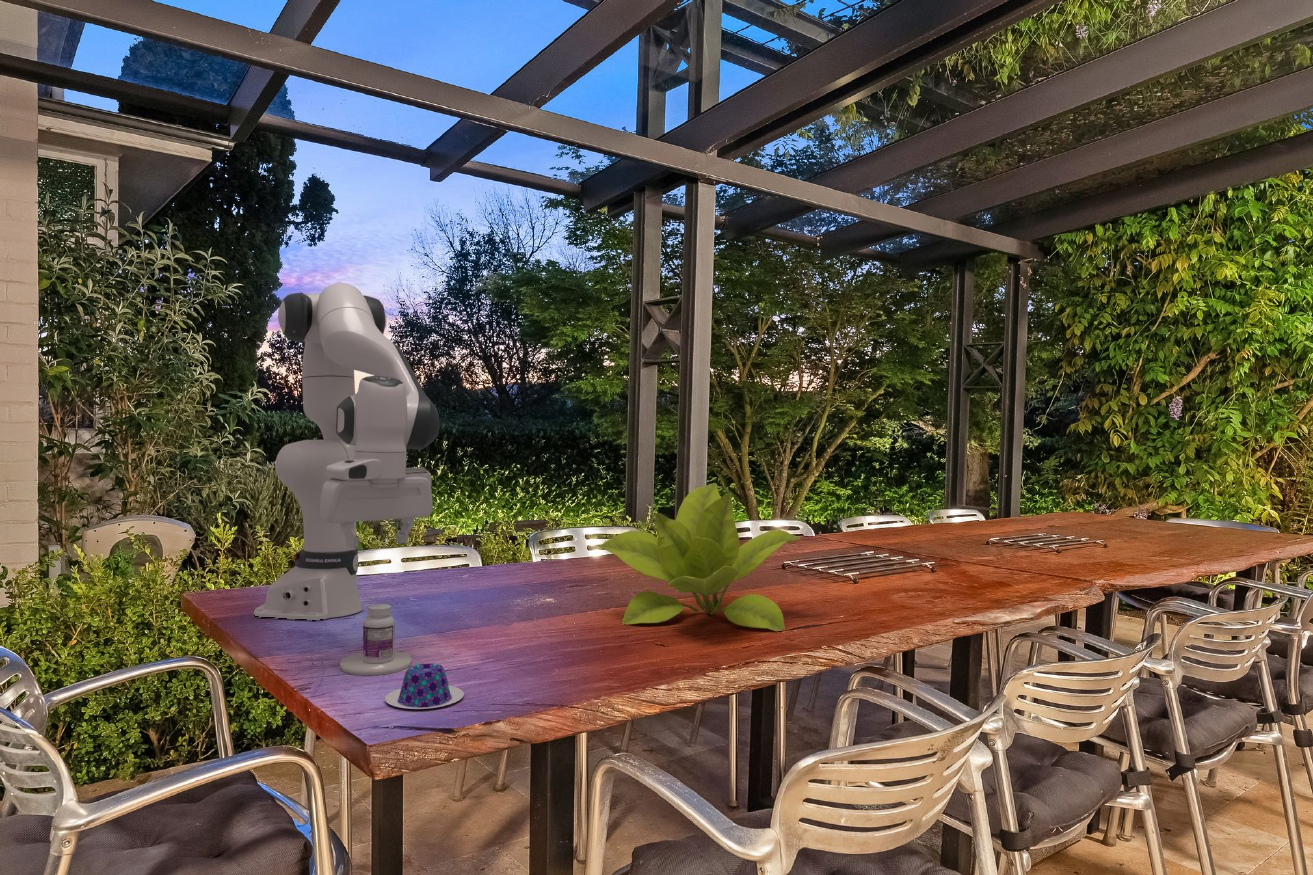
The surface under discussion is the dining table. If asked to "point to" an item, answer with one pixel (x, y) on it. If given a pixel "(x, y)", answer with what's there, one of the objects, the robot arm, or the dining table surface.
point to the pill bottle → (378, 634)
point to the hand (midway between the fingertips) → (377, 545)
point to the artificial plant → (699, 561)
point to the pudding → (424, 688)
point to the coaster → (375, 665)
